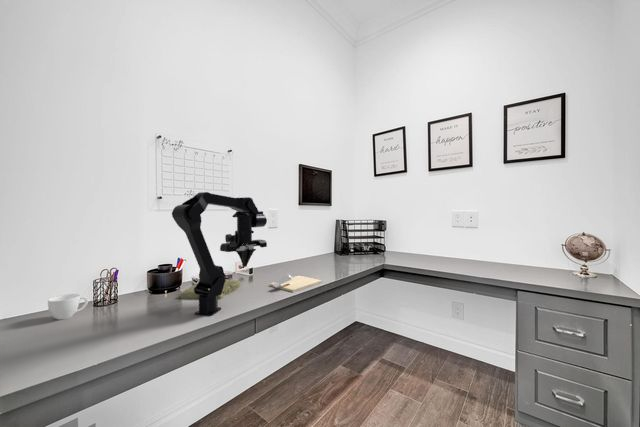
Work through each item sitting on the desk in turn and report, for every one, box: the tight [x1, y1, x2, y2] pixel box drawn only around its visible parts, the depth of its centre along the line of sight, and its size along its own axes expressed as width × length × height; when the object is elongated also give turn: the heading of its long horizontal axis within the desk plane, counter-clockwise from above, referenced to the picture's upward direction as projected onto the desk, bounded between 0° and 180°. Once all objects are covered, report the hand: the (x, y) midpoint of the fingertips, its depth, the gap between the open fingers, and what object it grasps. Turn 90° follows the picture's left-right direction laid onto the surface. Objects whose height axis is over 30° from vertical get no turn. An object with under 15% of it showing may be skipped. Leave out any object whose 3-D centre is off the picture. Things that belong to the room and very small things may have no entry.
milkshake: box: [274, 273, 293, 289], centre depth 125 cm, size 4×5×10 cm
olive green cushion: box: [180, 279, 242, 300], centre depth 119 cm, size 19×20×4 cm
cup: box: [47, 293, 89, 321], centre depth 92 cm, size 8×10×7 cm
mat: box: [269, 275, 323, 293], centre depth 130 cm, size 20×16×1 cm
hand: (244, 266), depth 110 cm, fingers closed
